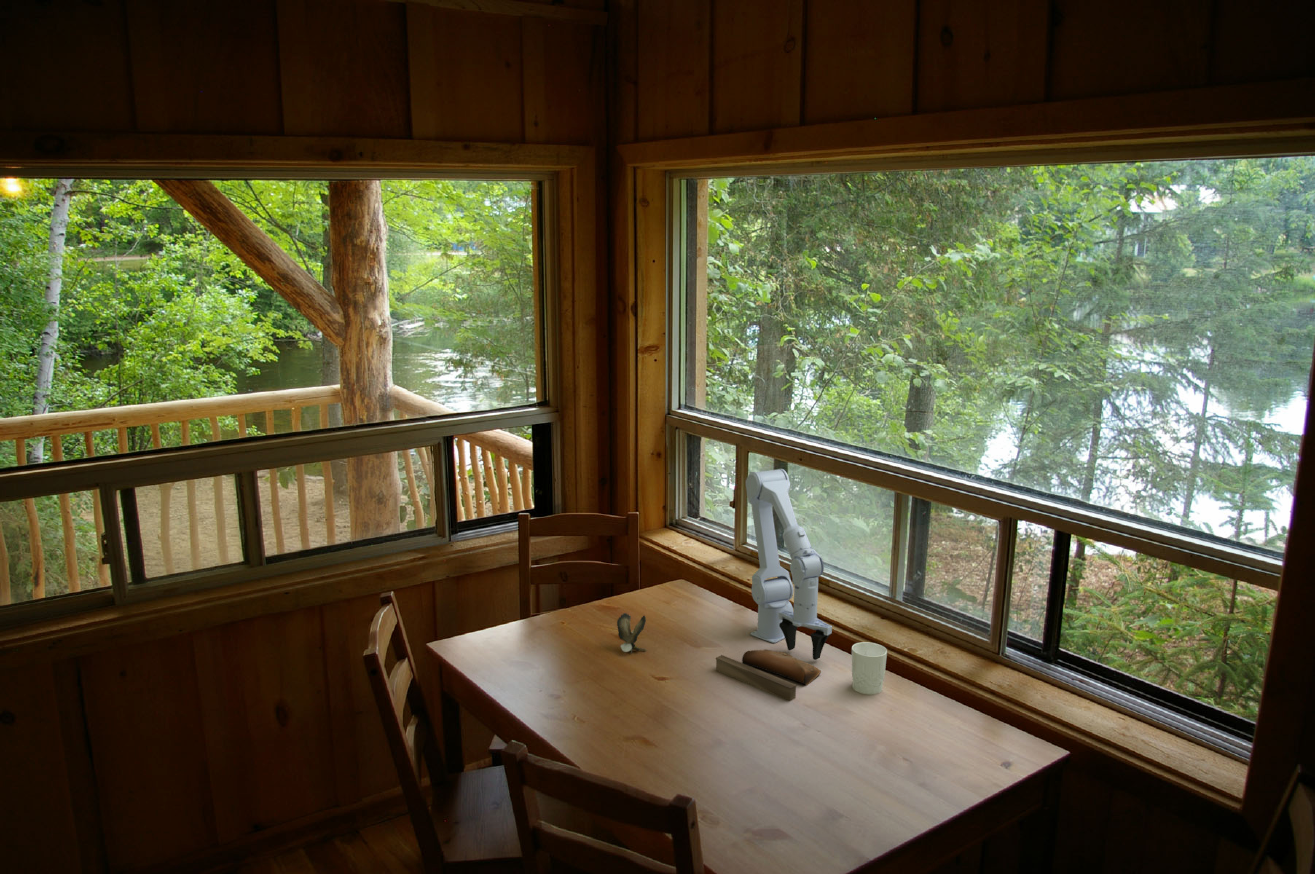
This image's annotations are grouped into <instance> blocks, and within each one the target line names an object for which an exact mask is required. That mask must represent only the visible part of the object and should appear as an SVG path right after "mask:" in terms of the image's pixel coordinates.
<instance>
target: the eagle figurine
mask: <svg viewBox="0 0 1315 874" xmlns="http://www.w3.org/2000/svg"><path fill="white" fill-rule="evenodd" d="M631 618H632V617H631V615H630V614H628V613H627V612H624V613H622V614H621V615H620V616H619V618H617V621H616V626H617V630H618V631H617V633H618V634H617V635H618V638H619V639H620V640H622V641H623V642H624V643H622V644H620V649H621V651H622V652H623V653H628V652H630V654H631V655H632V654H633V650H634V651H637V652H640V651H644V652H647V651H648V650H647V649H646V648H641V647H638V646H636V644H635V643H636V642H637V641H638V637H639V635H640V634H641V633H642V631H643V630H644V628H645V625H646V623H647V619H646V615H643V616H642V617H641V618H640V620H639V621H638V623H636V625H635V627H634V629H633V630H632V629H631V620H632V619H631Z"/></svg>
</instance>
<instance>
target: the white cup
mask: <svg viewBox="0 0 1315 874" xmlns="http://www.w3.org/2000/svg"><path fill="white" fill-rule="evenodd" d="M887 656H888V649H887V648H886V647H885V646H884V645H881V644H878V643H876V642H869V641H868V642H867V641H866V642H865V641H863V642H856V643H854V644H852V646H851V678H852V689H853V690H854V691H856V692H858V693H860V694H863V695H877V694H880V693H881V692H882V691H883V685H884V684H883V683H884V680H885V675H886V674H885V673H886V666H887V665H886V664H887Z"/></svg>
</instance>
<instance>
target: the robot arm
mask: <svg viewBox="0 0 1315 874" xmlns="http://www.w3.org/2000/svg"><path fill="white" fill-rule="evenodd" d="M745 490H746V496H747V501H748V503H749V504H750V505H751V512H752V519H753V526H754V533H755V539H756V548H757V549H756V550H757V555H758V560H759V562H758V563H759V568H758V569H757V571H756V572H755V573H753V575H751V582H752V583H751V597H752V599H753V601H754V602H755V603H756V604H757V605H758V607H757V630H754V631H752V632H750V636H753V637H755V638H758V639H760V640H764V641H766V642H769V643H772V644H775V643H778V642H780V641H782V640H784V639H785V643H786V647H787V650H788V651H792V650H794V649H795V648H796V641H797V640H796V638H797V630H798V628H799V627H803V628H807V629H810V630H813V631H815V632H812V633H810V635H809V636H810V638H811V643H812V659H813V660H814V661H817V660H819V659H820V658H821V654H822V652H823V648H824V646H825V643H826V642H827V640H828V639H829V637H830V636H831V634H833V633H832V631H833V626H832V625H831V624H828V623H826V622H824V621H823V620H821V619H819V618H818V600H819V599H818V597H819V595H818V594H819V592H818V591H819V577H821V576H822V575H823V574H824V570H825V569H824V568H825V567H824V566H825V565H824V562H823V561H824V560H823V558H822V556H821V554H819V553H818V552H817V550H815V549H813V548H812V545H811V542H810V540H809V538H808V535H807V533H806V530H805V528H804V527H803V526H800V525H799V524H798V521H797V517H796V516H795V515H796V514H795V511H794V509H793V505H792V502H791V499H790V495H789V493H790V490H791V481H790V477H789V475H788V473H787V471H786V470H785V469H783V468H777V469H771V470H761V471H751V472H749V473H748V475H747V477H746V479H745ZM772 508H773V509H772ZM773 510H774V512H775V513H776V516H777V517H778V519H779V522H780V523H781V526H782V527H783V529H784V531H783V534H782V539H783V541H784V544H785V547H786V549H787V552H788V554H789V557H790V559H791V562H790V563H789V570H790V572H789V571H788V570H787V569H785V568H784V567H782V566H781V565H780V556H779V550H778V543H777V536H776V535H777V534H776V529H775V521H774V516H773V515H774V514H773ZM790 573H791V576H792V578H791V576H790ZM791 579H792V580H791ZM792 598H793V605H792V603H791V602H790V600H791V599H792Z"/></svg>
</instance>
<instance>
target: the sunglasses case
mask: <svg viewBox="0 0 1315 874" xmlns="http://www.w3.org/2000/svg"><path fill="white" fill-rule="evenodd" d="M741 660H742V661H741V663H743V664H746V665H748V666H750V667H753V668H757V669H759V670H760V669H762V670H765V671H768V672H771V673H773V674H776V675H779V676H781V677H785V678H787V679H790V680H792V681H796V682H798V683H801V684H804V685H805V686H808V685H810V684H811V683H812V682H814V681H815V680H816V679H817V677H818V676H820V674H821V672H822V670H821V669H819V668H818V667H816V666H814V664H813V665H812V664H810V663H809V662H808V663H807V662H806V661H803V660H800V659H798V658H796V657H794V656H793V655H792V654H788V653H786V652H782V651H777V650H776V651H775V650H771V649H755V650H753V649H752V650H751V649H750V650H747V651H745V652H744V653H743V656H742V658H741Z"/></svg>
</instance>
